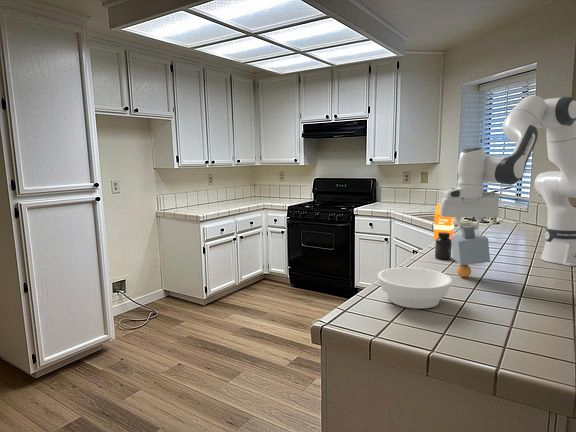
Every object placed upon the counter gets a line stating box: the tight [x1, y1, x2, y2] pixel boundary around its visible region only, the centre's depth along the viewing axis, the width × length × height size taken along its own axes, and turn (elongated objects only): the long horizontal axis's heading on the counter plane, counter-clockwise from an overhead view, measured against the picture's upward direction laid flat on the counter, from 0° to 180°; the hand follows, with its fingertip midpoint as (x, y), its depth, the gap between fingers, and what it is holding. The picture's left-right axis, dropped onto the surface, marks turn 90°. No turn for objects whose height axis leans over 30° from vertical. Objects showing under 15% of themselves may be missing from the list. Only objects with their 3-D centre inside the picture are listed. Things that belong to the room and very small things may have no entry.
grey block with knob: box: [451, 225, 491, 266], centre depth 148 cm, size 10×10×13 cm
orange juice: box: [433, 203, 455, 241], centre depth 222 cm, size 8×9×20 cm
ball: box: [456, 264, 472, 278], centre depth 151 cm, size 5×5×5 cm
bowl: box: [377, 266, 453, 309], centre depth 126 cm, size 22×22×8 cm
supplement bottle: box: [434, 232, 452, 261], centre depth 179 cm, size 7×7×12 cm
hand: (467, 229), depth 148 cm, fingers closed on grey block with knob, 4 cm apart
